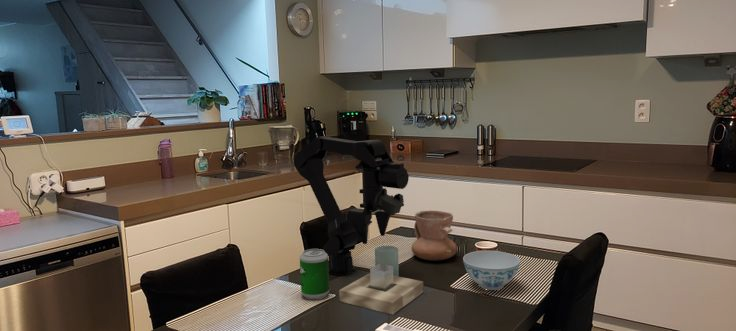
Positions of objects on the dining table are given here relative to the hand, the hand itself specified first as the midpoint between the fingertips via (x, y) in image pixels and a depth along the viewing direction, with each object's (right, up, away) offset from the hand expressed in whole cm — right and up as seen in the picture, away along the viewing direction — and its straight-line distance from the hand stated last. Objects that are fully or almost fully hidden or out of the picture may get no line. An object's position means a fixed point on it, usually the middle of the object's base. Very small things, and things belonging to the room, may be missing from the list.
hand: (374, 239), depth 147 cm
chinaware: (+32, -12, -5) cm, 35 cm away
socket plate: (+2, -14, -10) cm, 17 cm away
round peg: (+4, -11, +5) cm, 13 cm away
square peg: (+2, -14, -10) cm, 17 cm away
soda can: (-16, -14, -8) cm, 22 cm away
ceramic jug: (+19, -9, +21) cm, 30 cm away
